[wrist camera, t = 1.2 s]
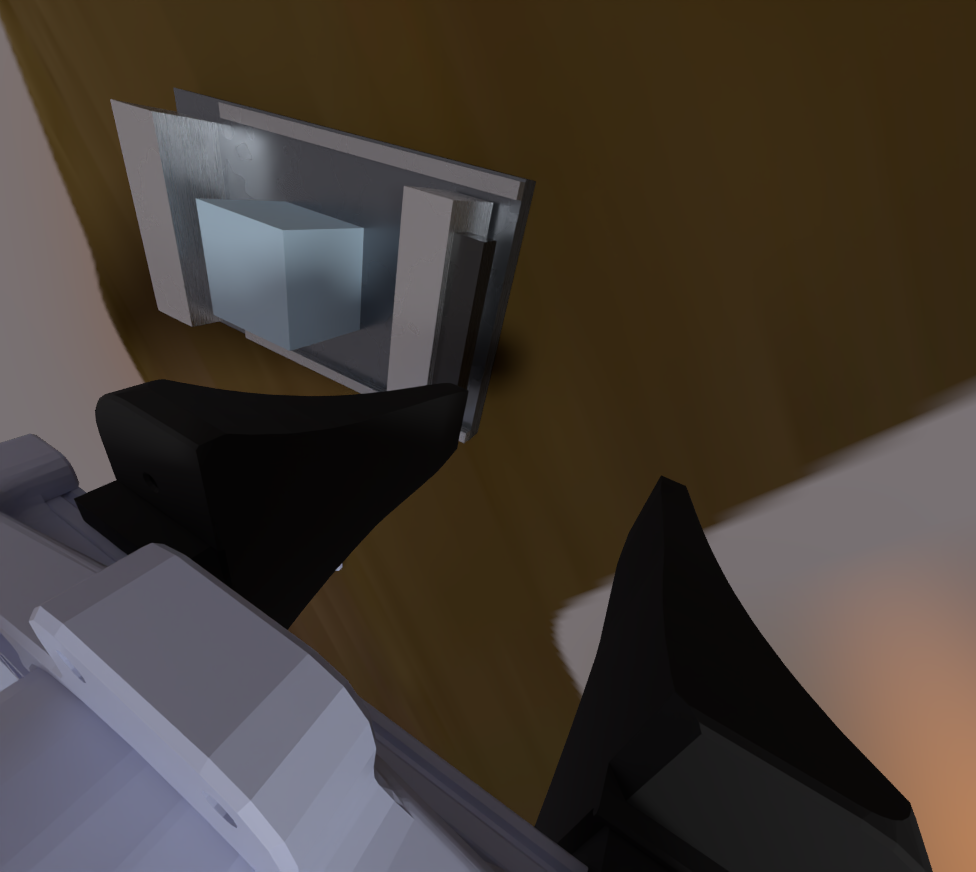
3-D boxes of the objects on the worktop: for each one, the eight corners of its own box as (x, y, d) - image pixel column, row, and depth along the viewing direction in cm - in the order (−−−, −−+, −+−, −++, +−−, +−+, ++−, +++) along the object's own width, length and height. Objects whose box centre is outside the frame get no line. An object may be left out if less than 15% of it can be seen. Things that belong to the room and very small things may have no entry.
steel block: (359, 329, 22) (289, 351, 19) (290, 300, 24) (213, 314, 20) (363, 228, 20) (283, 230, 16) (285, 201, 21) (195, 198, 17)
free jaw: (472, 428, 21) (440, 455, 19) (420, 404, 22) (383, 427, 20) (521, 210, 16) (484, 209, 13) (449, 190, 17) (403, 185, 14)
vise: (477, 432, 23) (437, 467, 20) (224, 314, 29) (162, 326, 25) (535, 181, 16) (489, 172, 13) (193, 92, 22) (103, 71, 19)
